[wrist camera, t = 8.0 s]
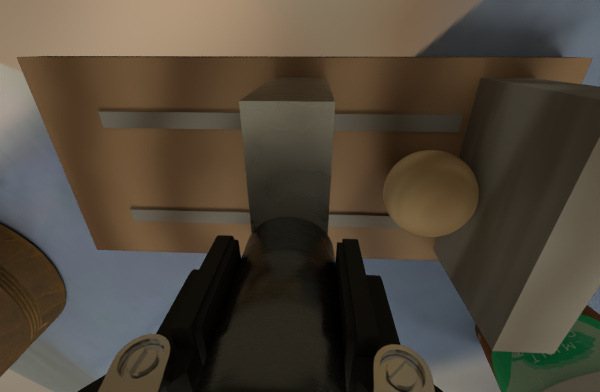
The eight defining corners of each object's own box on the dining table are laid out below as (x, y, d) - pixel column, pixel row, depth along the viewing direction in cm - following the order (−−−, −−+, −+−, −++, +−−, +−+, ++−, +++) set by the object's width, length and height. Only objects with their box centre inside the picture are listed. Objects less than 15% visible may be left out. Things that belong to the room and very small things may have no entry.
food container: (557, 251, 23) (707, 376, 14) (594, 288, 25) (749, 421, 16) (434, 324, 28) (489, 453, 19) (472, 351, 30) (539, 481, 21)
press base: (563, 56, 17) (841, 67, 8) (489, 246, 23) (596, 368, 14) (45, 56, 18) (-213, 64, 9) (112, 235, 25) (-1, 340, 16)
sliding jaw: (331, 77, 16) (391, 185, 3) (323, 249, 21) (334, 527, 9) (267, 77, 16) (98, 180, 4) (275, 247, 21) (222, 519, 9)
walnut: (463, 139, 17) (514, 171, 13) (444, 209, 20) (481, 257, 15) (381, 138, 17) (403, 169, 13) (371, 208, 20) (387, 254, 15)
